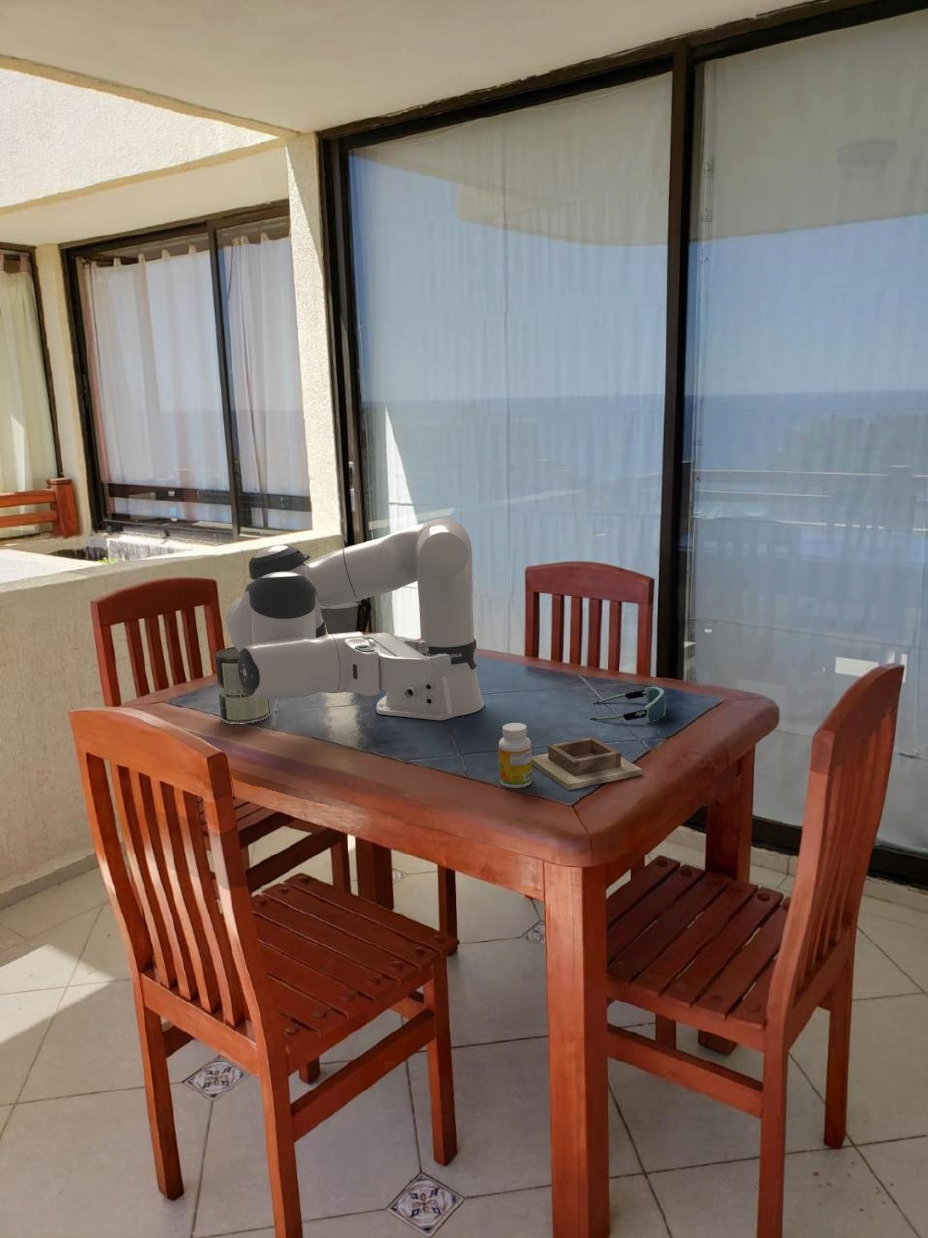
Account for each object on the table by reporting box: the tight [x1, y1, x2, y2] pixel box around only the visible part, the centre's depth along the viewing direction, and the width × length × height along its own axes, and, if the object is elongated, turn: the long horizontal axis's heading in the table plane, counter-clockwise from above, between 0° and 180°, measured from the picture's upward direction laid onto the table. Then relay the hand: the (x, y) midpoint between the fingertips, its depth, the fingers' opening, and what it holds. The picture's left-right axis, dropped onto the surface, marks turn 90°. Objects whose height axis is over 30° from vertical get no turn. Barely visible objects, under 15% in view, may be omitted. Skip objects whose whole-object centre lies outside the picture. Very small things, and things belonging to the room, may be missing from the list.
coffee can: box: [214, 646, 272, 724], centre depth 192 cm, size 10×10×14 cm
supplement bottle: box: [498, 722, 533, 789], centre depth 153 cm, size 5×5×10 cm
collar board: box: [532, 736, 643, 791], centre depth 159 cm, size 14×14×4 cm
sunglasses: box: [589, 686, 667, 724], centre depth 188 cm, size 14×15×5 cm
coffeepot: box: [320, 598, 373, 634], centre depth 232 cm, size 15×9×18 cm, turn 125°
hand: (438, 652), depth 144 cm, fingers open, 8 cm apart
